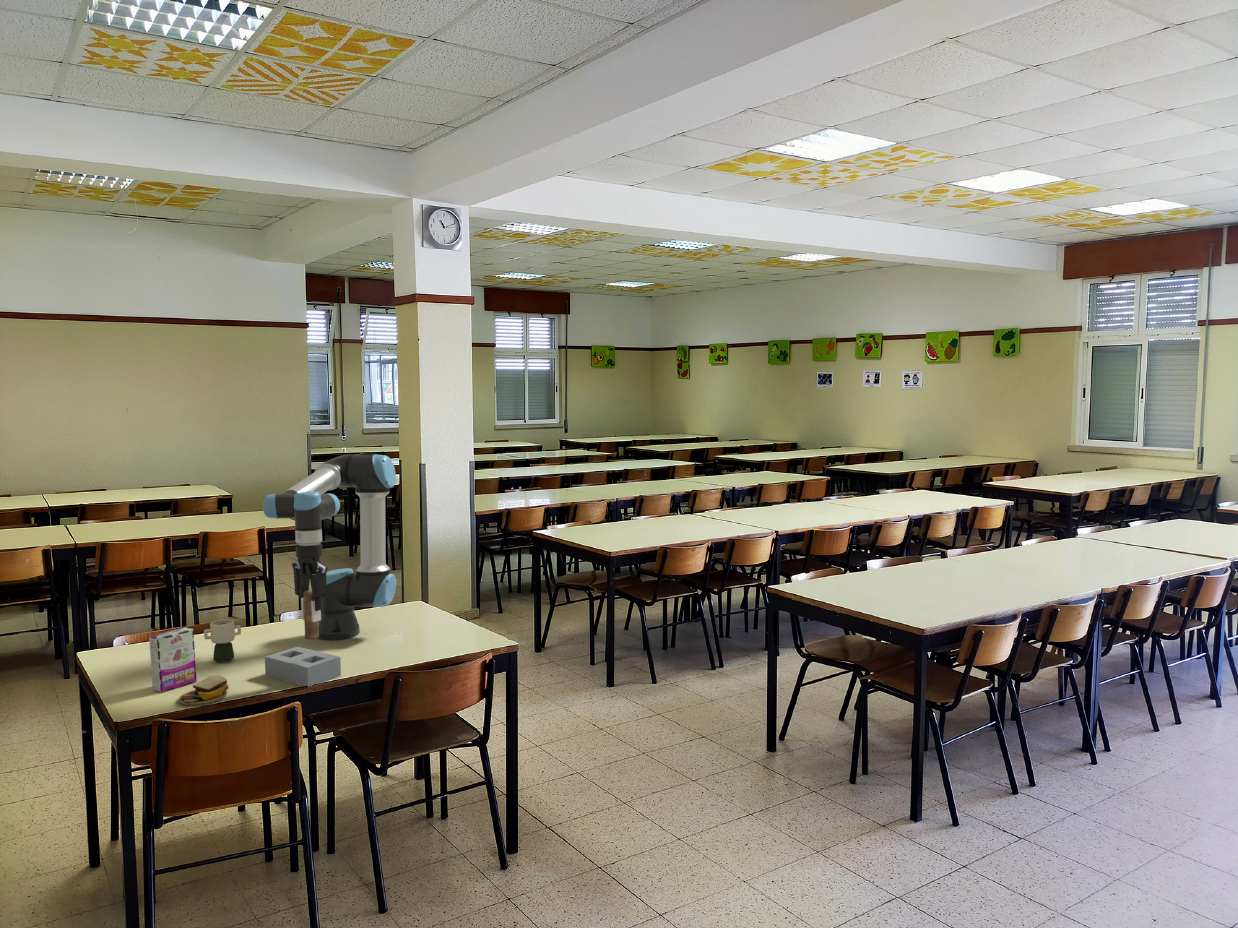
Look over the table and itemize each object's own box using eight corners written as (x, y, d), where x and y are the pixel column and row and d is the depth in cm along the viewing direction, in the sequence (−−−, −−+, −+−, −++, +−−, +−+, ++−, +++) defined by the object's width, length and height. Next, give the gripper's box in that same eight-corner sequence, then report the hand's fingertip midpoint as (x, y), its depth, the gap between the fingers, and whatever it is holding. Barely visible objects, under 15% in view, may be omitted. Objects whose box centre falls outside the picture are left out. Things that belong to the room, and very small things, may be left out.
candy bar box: (187, 679, 260) (185, 626, 259) (197, 682, 258) (194, 628, 256) (151, 690, 251) (148, 635, 249) (160, 693, 248) (157, 638, 247)
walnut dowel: (302, 637, 259) (300, 592, 257) (313, 634, 262) (311, 589, 261) (310, 639, 256) (309, 593, 255) (321, 636, 260) (320, 591, 259)
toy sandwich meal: (169, 701, 242) (168, 685, 242) (215, 687, 253) (214, 672, 253) (193, 710, 235) (193, 693, 235) (239, 696, 246) (238, 680, 246)
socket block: (265, 675, 263) (264, 656, 263) (298, 664, 273) (297, 646, 273) (308, 687, 253) (307, 667, 252) (340, 675, 263) (340, 656, 262)
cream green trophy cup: (240, 655, 283) (238, 616, 282) (243, 661, 277) (242, 621, 276) (204, 660, 278) (202, 621, 277) (206, 666, 272) (205, 626, 270)
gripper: (279, 542, 258) (282, 618, 260) (317, 548, 249) (319, 626, 251) (300, 538, 264) (303, 613, 266) (338, 544, 255) (340, 620, 257)
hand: (311, 619), depth 259 cm, fingers closed on walnut dowel, 4 cm apart
